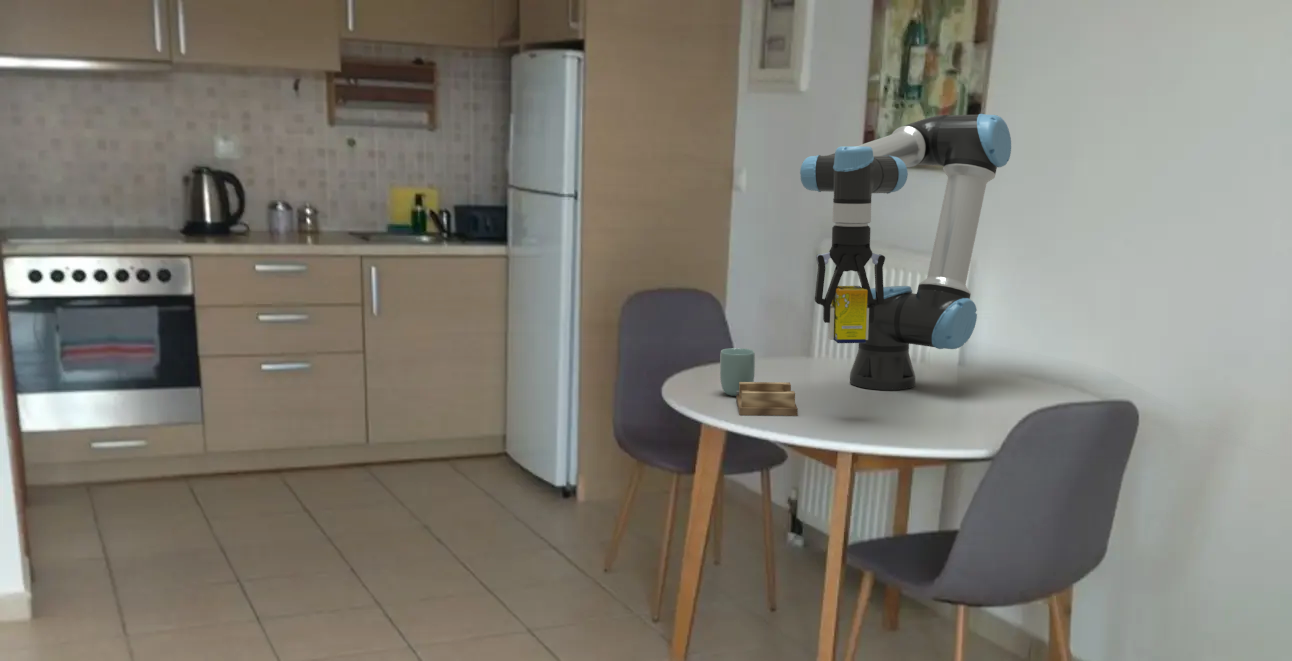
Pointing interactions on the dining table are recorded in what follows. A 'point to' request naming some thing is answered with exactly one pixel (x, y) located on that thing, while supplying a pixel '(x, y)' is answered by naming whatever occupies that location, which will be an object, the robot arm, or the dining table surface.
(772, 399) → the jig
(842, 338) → the supplement box
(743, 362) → the cup
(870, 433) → the dining table surface
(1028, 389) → the dining table surface
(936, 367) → the dining table surface
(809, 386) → the dining table surface
